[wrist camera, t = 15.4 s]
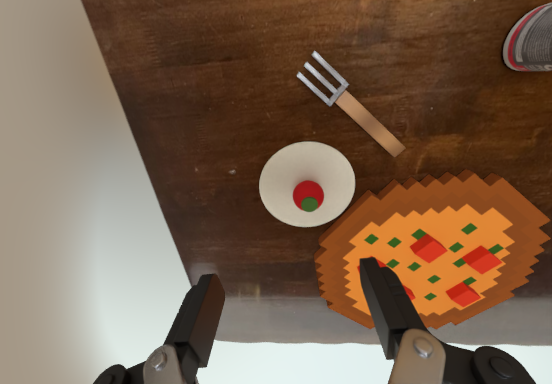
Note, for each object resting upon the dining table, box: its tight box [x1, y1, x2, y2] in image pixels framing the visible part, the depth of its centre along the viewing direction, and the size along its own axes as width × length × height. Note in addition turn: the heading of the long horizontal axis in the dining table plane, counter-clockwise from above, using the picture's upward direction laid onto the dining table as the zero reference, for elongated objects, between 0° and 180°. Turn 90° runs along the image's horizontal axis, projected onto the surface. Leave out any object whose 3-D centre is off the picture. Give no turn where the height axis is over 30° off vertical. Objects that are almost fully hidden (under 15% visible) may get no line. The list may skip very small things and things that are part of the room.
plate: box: [259, 141, 355, 227], centre depth 30 cm, size 13×13×1 cm
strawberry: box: [293, 180, 324, 212], centre depth 28 cm, size 4×4×4 cm
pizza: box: [314, 169, 551, 329], centre depth 34 cm, size 32×32×3 cm
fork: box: [296, 51, 405, 157], centre depth 25 cm, size 15×3×1 cm, turn 52°
